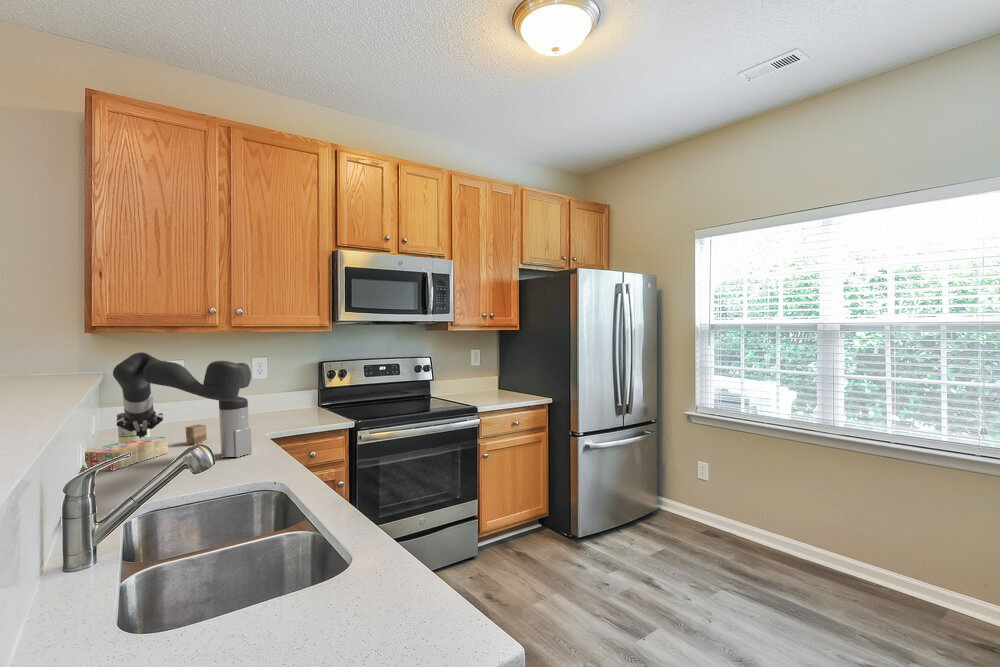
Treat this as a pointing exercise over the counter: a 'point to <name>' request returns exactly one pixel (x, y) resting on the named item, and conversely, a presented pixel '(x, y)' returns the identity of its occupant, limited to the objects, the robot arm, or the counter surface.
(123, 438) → the coffee can
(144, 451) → the stack of blocks
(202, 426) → the walnut block
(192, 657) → the counter surface
